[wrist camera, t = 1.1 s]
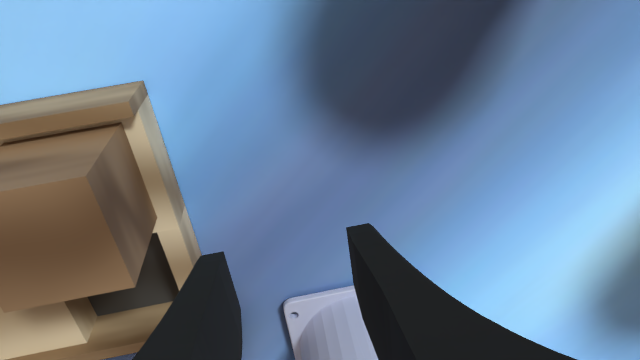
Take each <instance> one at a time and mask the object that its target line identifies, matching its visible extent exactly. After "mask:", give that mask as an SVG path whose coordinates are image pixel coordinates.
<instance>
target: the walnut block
mask: <svg viewBox="0 0 640 360" xmlns="http://www.w3.org/2000/svg"><path fill="white" fill-rule="evenodd" d="M156 220H157V215H156V213H155V210H154V207H153V205H152V202H151V199H150V197H149V194H148V191H147V189H146V186H145V183H144V181H143V178H142V175H141V173H140V170H139V167H138V165H137V162H136V159H135V157H134V154H133V151H132V149H131V146H130V143H129V141H128V138H127V135H126V133H125V130H124V127H123V125H122V122H120V123H114V124H108V125H103V126H97V127H91V128H86V129H80V130H74V131H69V132H63V133H57V134H52V135H46V136H40V137H35V138H29V139H23V140H18V141H12V142H6V143H3V144H2V145H0V307H1V309H2V310H3V312H4V313H7V312H12V311H17V310H22V309H27V308H32V307H37V306H42V305H48V304H53V303H58V302H63V301H68V300H73V299H78V298H83V297H88V296H93V295H98V294H103V293H108V292H114V291H119V290H124V289H129V288H134V287H135V286H136V283H137V280H138V277H139V274H140V271H141V267H142V264H143V261H144V258H145V255H146V252H147V248H148V245H149V242H150V239H151V236H152V233H153V230H154V226H155V223H156Z"/></svg>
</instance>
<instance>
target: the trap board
mask: <svg viewBox="0 0 640 360" xmlns="http://www.w3.org/2000/svg"><path fill="white" fill-rule="evenodd" d="M120 122H122V125H123V127H124V130H125V133H126V135H127V138H128V141H129V143H130V146H131V149H132V151H133V154H134V157H135V159H136V162H137V165H138V167H139V170H140V173H141V175H142V178H143V181H144V183H145V186H146V189H147V191H148V194H149V197H150V199H151V202H152V205H153V207H154V210H155V213H156V215H157V220H156V223H155V226H154V230H153V233H152V236H151V239H150V242H149V245H148V248H147V252H146V255H145V258H144V261H143V264H142V267H141V271H140V274H139V277H138V280H137V283H136V286H135V287H134V288H129V289H124V290H119V291H114V292H108V293H103V294H98V295H93V296H88V297H83V298H78V299H73V300H68V301H63V302H58V303H53V304H48V305H42V306H37V307H32V308H27V309H22V310H17V311H12V312H7V313H4V312H3V310H2V309H1V307H0V360H102V359H107V358H111V357H116V356H121V355H126V354H131V353H136V352H138V351H139V350H140V349H141V347H142V346H143V345H144V343H145V342H146V341H147V339H148V338H149V336H150V335H151V333H152V332H153V331H154V329H155V328H156V326H157V325H158V324H159V322H160V321H161V319H162V318H163V316H164V315H165V313H166V312H167V310H168V308H169V307H170V305H171V304H172V302H173V300H174V299H175V297H176V296H177V294H178V292H179V291H180V289H181V287H182V286H183V284H184V282H185V281H186V279H187V277H188V275H189V274H190V272H191V270H192V268H193V267H194V265H195V263H196V262H197V260H198V259H199V257H200V256H202V255H201V252H200V249H199V246H198V243H197V240H196V237H195V234H194V231H193V228H192V225H191V222H190V219H189V216H188V213H187V210H186V207H185V204H184V201H183V198H182V195H181V192H180V189H179V186H178V183H177V180H176V177H175V174H174V171H173V168H172V165H171V162H170V159H169V156H168V153H167V150H166V147H165V144H164V141H163V138H162V135H161V132H160V129H159V126H158V123H157V120H156V117H155V114H154V111H153V108H152V105H151V102H150V99H149V96H148V93H147V90H146V87H145V84H144V81H138V82H132V83H126V84H121V85H115V86H109V87H103V88H97V89H91V90H86V91H80V92H74V93H68V94H62V95H56V96H51V97H45V98H39V99H33V100H27V101H21V102H16V103H10V104H4V105H0V145H2V144H3V143H6V142H12V141H18V140H23V139H29V138H35V137H40V136H46V135H52V134H57V133H63V132H69V131H74V130H80V129H86V128H91V127H97V126H103V125H108V124H114V123H120Z"/></svg>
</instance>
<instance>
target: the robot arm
mask: <svg viewBox="0 0 640 360" xmlns="http://www.w3.org/2000/svg"><path fill="white" fill-rule="evenodd" d="M346 229H347V237H348V244H349V252H350V260H351V267H352V275H353V283H354V286H349V287H344V288H339V289H334V290H329V291H324V292H319V293H314V294H309V295H304V296H299V297H294V298H290V299H287V300H286V301H285V302H284V304H283V308H284V314H285V318H286V322H287V326H288V330H289V335H290V339H291V343H292V347H293V351H294V355H295V360H577V359H574V358H571V357H569V356H566V355H564V354H561V353H558V352H556V351H553V350H551V349H549V348H546V347H544V346H542V345H540V344H537V343H535V342H533V341H531V340H528V339H526V338H524V337H522V336H520V335H518V334H516V333H514V332H512V331H510V330H508V329H506V328H504V327H502V326H500V325H499V324H497V323H495V322H493V321H491V320H489V319H487V318H485V317H484V316H482V315H480V314H479V313H477V312H475V311H474V310H472V309H470V308H469V307H467V306H466V305H464V304H463V303H461V302H460V301H458V300H456V299H455V298H454V297H452V296H451V295H449V294H448V293H446V292H445V291H444V290H442V289H441V288H440V287H438V286H437V285H436V284H434V283H433V282H432V281H431V280H429V279H428V278H427V277H426V276H424V275H423V274H422V273H421V272H420V271H418V270H417V269H416V268H415V267H414V266H413V265H411V264H410V263H409V262H408V261H407V260H406V259H405V258H404V257H402V256H401V255H400V254H399V253H398V252H397V251H396V250H395V249H394V248H393V247H392V246H391V245H390V244H389V243H388V242H387V241H386V240H385V239H384V238H383V237H382V236H381V235H380V234H379V232H378V231H377V230H376V229H375V228H374V227H373V226H372V225H371V224H369V223H367V224H362V225H357V226H352V227H347V228H346ZM292 312H297V313H295V314H291V313H292ZM241 357H242V324H241V308H240V305H239V301H238V298H237V295H236V291H235V288H234V285H233V282H232V278H231V275H230V272H229V268H228V265H227V262H226V258H225V255H224V252H218V253H213V254H208V255H203V256H200V257H199V259H198V260H197V262H196V263H195V265H194V267H193V268H192V270H191V272H190V274H189V275H188V277H187V279H186V281H185V282H184V284H183V286H182V287H181V289H180V291H179V292H178V294H177V296H176V297H175V299H174V300H173V302H172V304H171V305H170V307H169V308H168V310H167V312H166V313H165V315H164V316H163V318H162V319H161V321H160V322H159V324H158V325H157V326H156V328H155V329H154V331H153V332H152V333H151V335H150V336H149V338H148V339H147V341H146V342H145V343H144V345H143V346H142V347H141V349H140V350H139V351H138V353H137V354H136V355H135V357H134V358H133V359H132V360H241Z"/></svg>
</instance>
